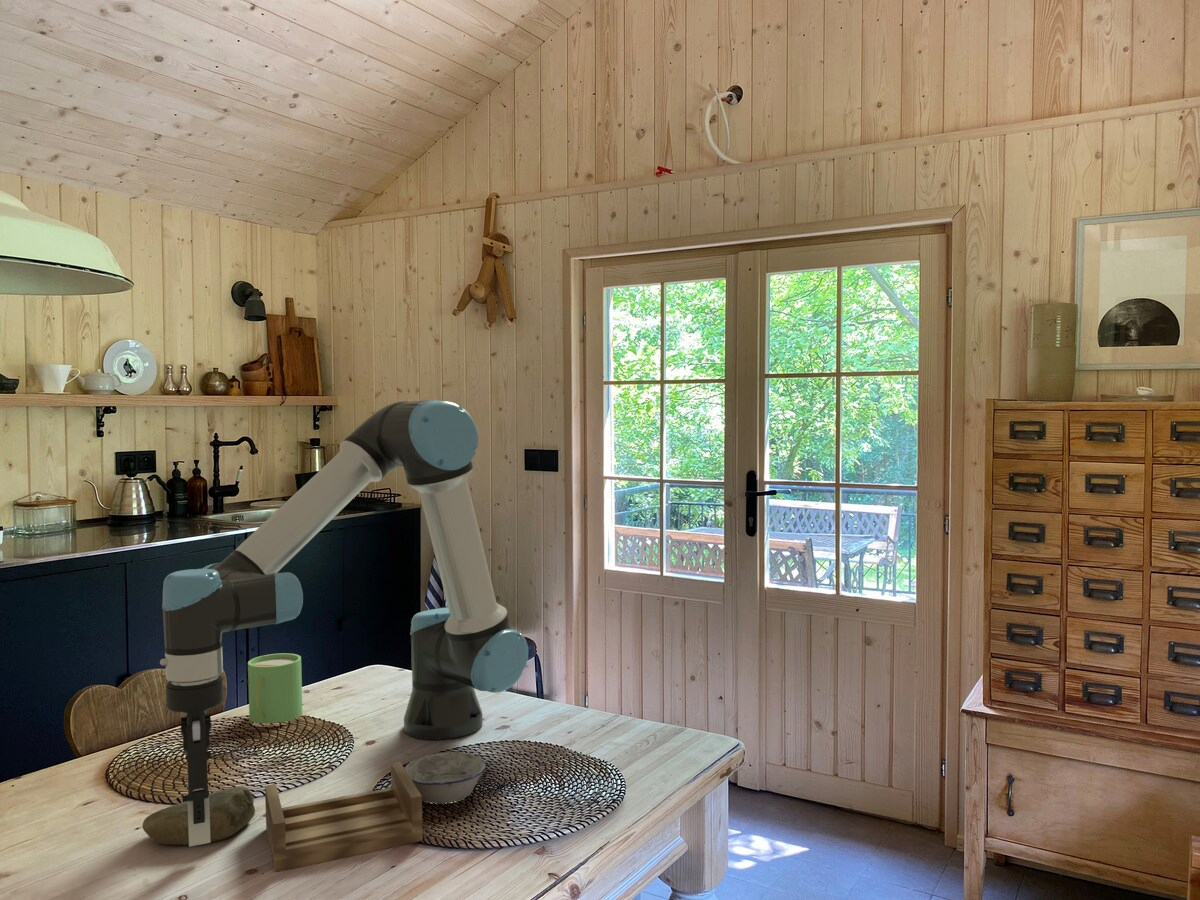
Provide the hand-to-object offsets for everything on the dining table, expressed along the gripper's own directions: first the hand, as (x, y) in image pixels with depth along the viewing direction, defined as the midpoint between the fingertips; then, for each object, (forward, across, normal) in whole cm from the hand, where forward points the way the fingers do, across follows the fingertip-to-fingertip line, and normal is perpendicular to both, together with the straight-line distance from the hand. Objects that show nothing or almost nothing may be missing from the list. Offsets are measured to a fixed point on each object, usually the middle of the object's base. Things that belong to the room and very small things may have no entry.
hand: (199, 823), depth 130 cm
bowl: (+2, +1, +36) cm, 36 cm away
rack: (+2, +8, +19) cm, 21 cm away
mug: (+2, -49, +14) cm, 51 cm away
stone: (+3, -1, 0) cm, 3 cm away
